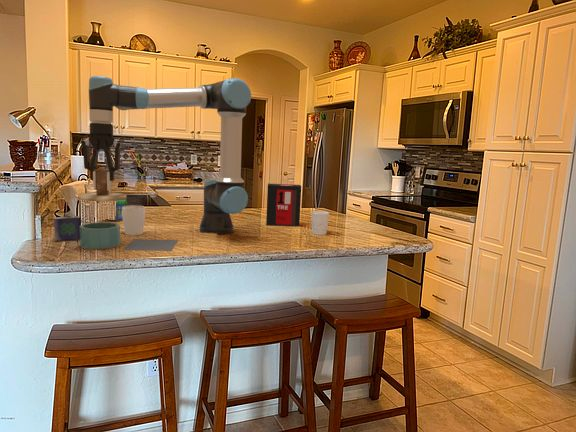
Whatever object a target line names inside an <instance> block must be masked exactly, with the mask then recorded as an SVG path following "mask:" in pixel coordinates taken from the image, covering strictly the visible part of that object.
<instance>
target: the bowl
mask: <svg viewBox="0 0 576 432" xmlns="http://www.w3.org/2000/svg"><path fill="white" fill-rule="evenodd" d="M79 227H80V240H79V246H80V248H83V249H88V250H104V249H111V248H116V247H118V246H120V245H121V224H119V223H117V222H112V221H106V222H105V221H100V222H99V221H95V222H88V223H82V224H81V226H79Z"/></svg>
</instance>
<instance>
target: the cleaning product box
mask: <svg viewBox="0 0 576 432" xmlns="http://www.w3.org/2000/svg"><path fill="white" fill-rule="evenodd" d="M266 190H267V194H266V195H267V198H266V199H267V200H266V218H265V219H266V222H265V226H271V227H273V226H274V227H276V226H278V227H299V228H300V224H301V223H300V222H301V221H300V220H301V206H302V205H301V204H302V203H301V201H302V185H301V184H292V183H291V184H290V183H267V189H266Z"/></svg>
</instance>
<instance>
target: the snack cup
mask: <svg viewBox="0 0 576 432" xmlns="http://www.w3.org/2000/svg"><path fill="white" fill-rule="evenodd" d="M123 206H129V205H128V202H127V199H125V200H120V201H116V216H115V220H116V221H115V222H119V221H120V222H121V221H123V219H122V207H123Z"/></svg>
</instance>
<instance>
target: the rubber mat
mask: <svg viewBox="0 0 576 432" xmlns="http://www.w3.org/2000/svg"><path fill="white" fill-rule="evenodd" d="M178 242H179V240H178V239H154V238H153V239H152V238H151V239H148V238H145V239H144V238H141V239H140V238H134V239H132V240H131V241H130V242H129V243H128V244H127V245H126V246H125V247H123V248H122V251H144V252H145V251H152V252H153V251H154V252H156V251H157V252H158V251H159V252H161V251H162V252H172V251H173V250H174V248H175V246H176V244H177V243H178Z"/></svg>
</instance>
